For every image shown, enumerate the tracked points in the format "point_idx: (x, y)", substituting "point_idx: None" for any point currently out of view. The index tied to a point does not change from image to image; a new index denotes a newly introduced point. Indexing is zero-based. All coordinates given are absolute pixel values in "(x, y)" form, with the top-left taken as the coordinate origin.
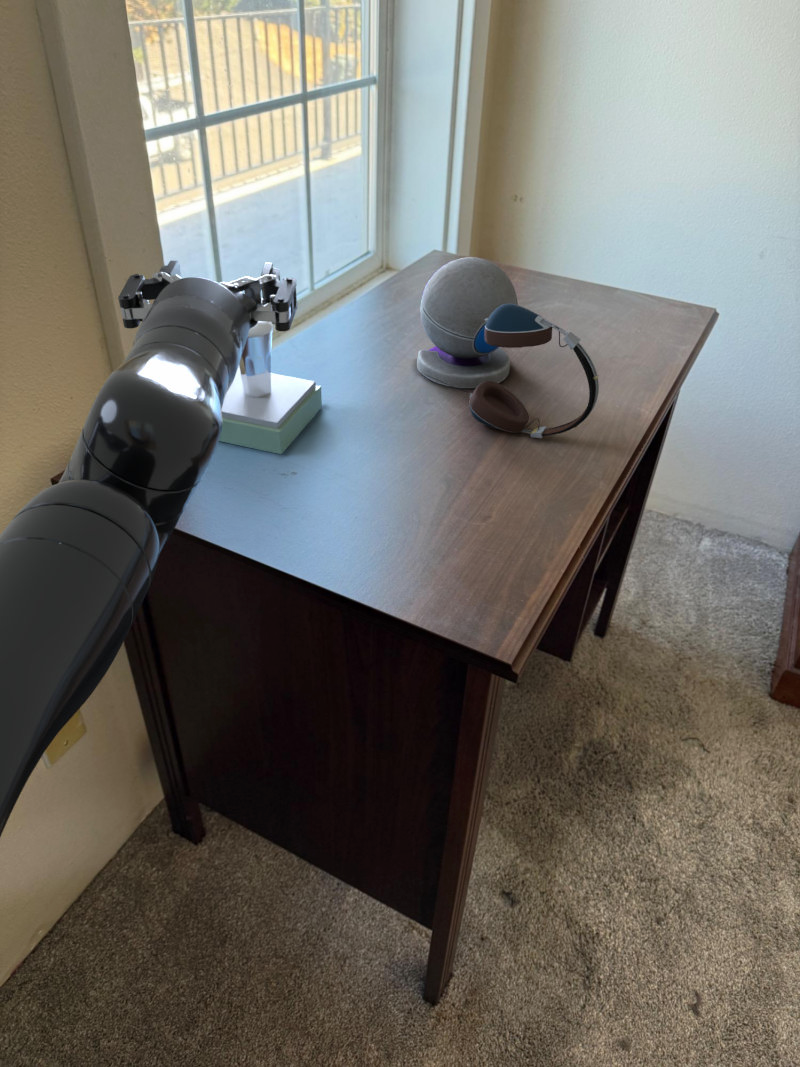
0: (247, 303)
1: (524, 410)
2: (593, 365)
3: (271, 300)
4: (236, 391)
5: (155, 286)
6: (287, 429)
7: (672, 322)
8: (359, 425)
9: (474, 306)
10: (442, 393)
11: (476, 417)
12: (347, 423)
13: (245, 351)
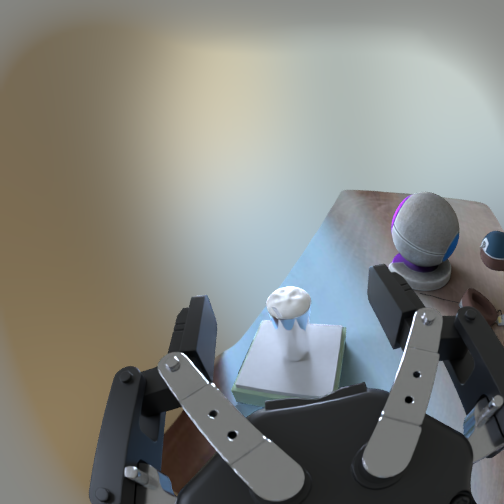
0: (466, 468)
1: (492, 306)
2: None
3: (493, 412)
4: (274, 356)
5: (169, 392)
6: None
7: (481, 212)
8: (386, 356)
9: (445, 230)
10: (424, 299)
11: None
12: (375, 356)
13: (286, 330)
